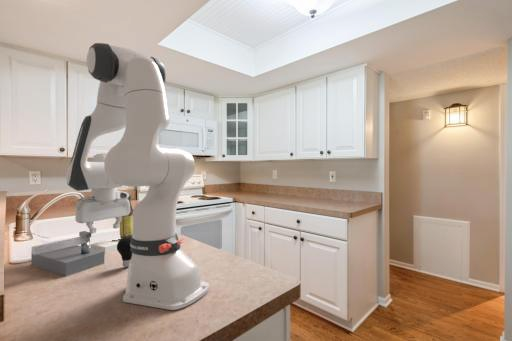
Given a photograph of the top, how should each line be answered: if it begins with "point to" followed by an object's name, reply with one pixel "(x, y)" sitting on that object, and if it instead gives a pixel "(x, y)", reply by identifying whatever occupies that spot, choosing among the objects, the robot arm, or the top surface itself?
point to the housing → (68, 260)
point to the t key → (65, 244)
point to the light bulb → (125, 250)
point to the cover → (105, 246)
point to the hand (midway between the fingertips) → (105, 230)
